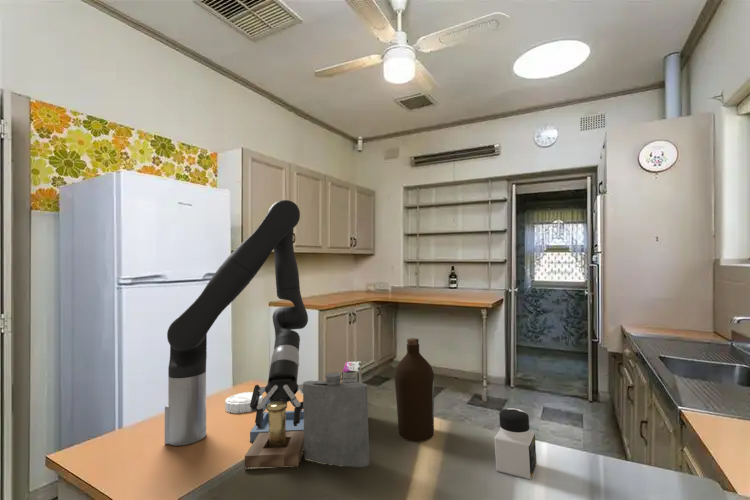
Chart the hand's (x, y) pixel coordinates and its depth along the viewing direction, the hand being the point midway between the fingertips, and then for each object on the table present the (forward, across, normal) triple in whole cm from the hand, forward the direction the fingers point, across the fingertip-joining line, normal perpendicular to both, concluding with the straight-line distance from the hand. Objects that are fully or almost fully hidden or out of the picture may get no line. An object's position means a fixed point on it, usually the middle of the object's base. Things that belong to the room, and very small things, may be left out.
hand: (277, 426), depth 88 cm
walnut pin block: (+5, 0, +5) cm, 7 cm away
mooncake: (-20, -18, +31) cm, 41 cm away
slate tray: (-6, -2, +16) cm, 17 cm away
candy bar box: (-7, +18, +17) cm, 26 cm away
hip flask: (+8, +14, +2) cm, 16 cm away
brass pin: (+5, 0, +5) cm, 7 cm away
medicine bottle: (+14, +53, -3) cm, 55 cm away
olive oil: (0, +35, +10) cm, 37 cm away
